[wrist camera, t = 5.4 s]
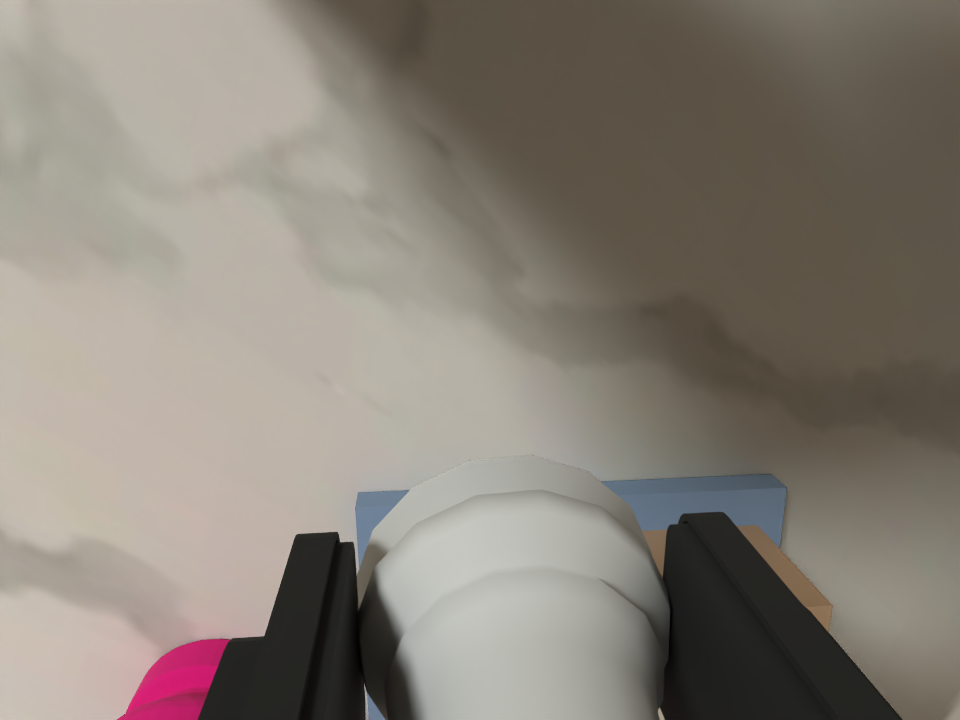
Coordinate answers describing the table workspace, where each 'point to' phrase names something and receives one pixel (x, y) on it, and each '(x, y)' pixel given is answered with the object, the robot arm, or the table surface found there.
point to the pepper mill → (177, 683)
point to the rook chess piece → (512, 600)
